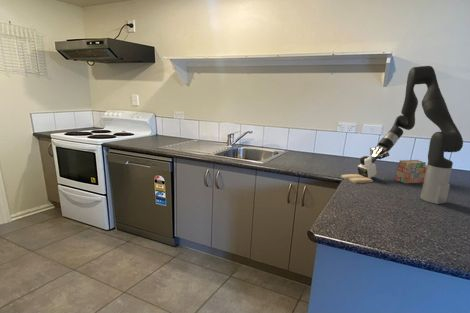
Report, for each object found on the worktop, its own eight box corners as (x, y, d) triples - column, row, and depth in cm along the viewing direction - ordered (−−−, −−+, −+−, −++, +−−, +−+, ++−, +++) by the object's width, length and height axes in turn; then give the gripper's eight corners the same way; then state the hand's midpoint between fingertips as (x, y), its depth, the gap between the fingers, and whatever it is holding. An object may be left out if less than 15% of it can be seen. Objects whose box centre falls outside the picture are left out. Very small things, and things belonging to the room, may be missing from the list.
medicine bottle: (358, 175, 165) (356, 158, 161) (367, 171, 167) (364, 153, 163) (368, 179, 159) (366, 161, 155) (377, 174, 161) (375, 156, 157)
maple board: (372, 181, 155) (372, 179, 155) (356, 183, 151) (356, 181, 151) (356, 175, 166) (357, 173, 166) (341, 176, 162) (341, 174, 161)
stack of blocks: (425, 179, 165) (429, 159, 162) (434, 182, 159) (439, 162, 157) (395, 179, 161) (399, 159, 158) (403, 183, 155) (408, 162, 152)
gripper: (376, 135, 168) (358, 155, 166) (396, 139, 156) (377, 161, 154) (380, 143, 171) (363, 163, 169) (400, 148, 160) (382, 169, 157)
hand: (370, 162), depth 162 cm, fingers closed
